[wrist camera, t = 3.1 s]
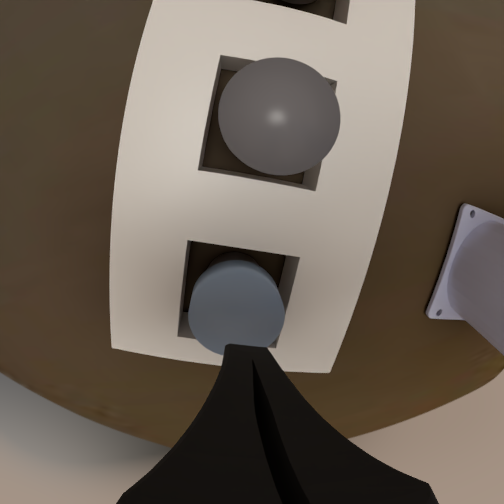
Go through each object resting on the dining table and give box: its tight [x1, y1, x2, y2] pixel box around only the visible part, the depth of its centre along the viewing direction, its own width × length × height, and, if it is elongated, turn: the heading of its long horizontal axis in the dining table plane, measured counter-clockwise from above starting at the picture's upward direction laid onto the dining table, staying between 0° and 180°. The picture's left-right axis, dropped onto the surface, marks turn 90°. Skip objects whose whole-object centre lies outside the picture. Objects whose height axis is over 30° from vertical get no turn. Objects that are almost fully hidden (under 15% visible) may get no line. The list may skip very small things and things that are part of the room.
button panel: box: [110, 0, 415, 373], centre depth 13 cm, size 12×24×2 cm, turn 169°
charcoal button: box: [218, 57, 341, 175], centre depth 11 cm, size 4×4×4 cm
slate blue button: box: [188, 252, 285, 355], centre depth 15 cm, size 4×4×4 cm
